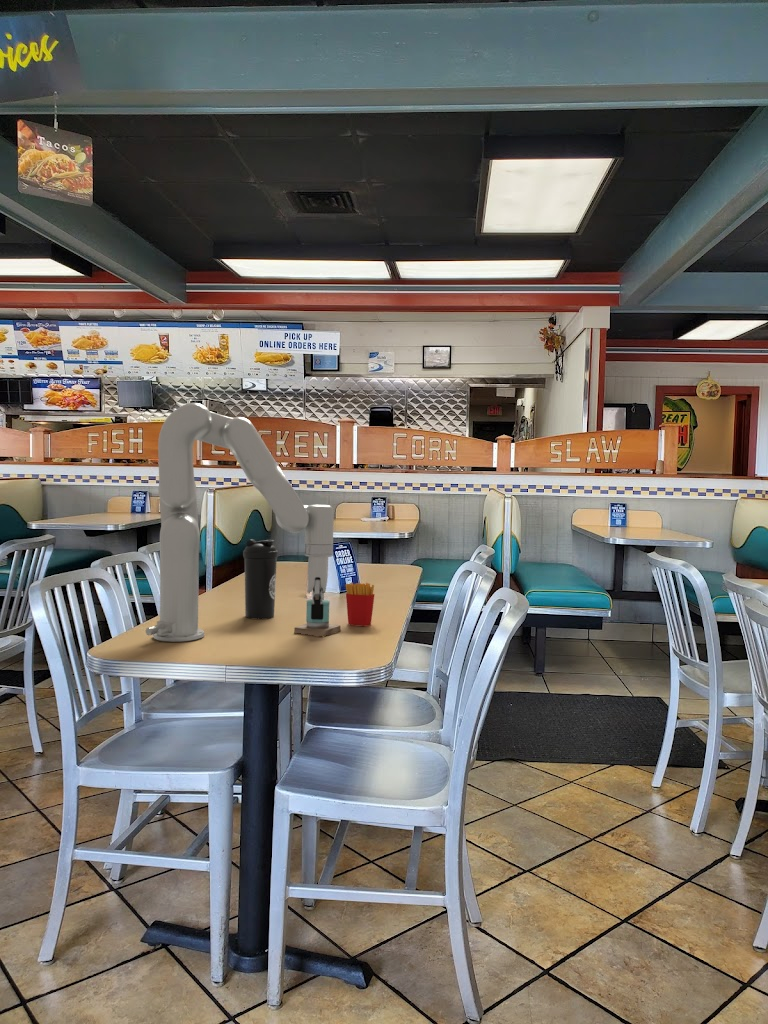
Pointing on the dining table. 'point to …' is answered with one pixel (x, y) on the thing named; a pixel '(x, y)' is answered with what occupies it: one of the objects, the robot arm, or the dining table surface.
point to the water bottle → (260, 578)
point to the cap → (325, 612)
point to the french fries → (359, 603)
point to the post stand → (317, 628)
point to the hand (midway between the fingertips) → (317, 616)
